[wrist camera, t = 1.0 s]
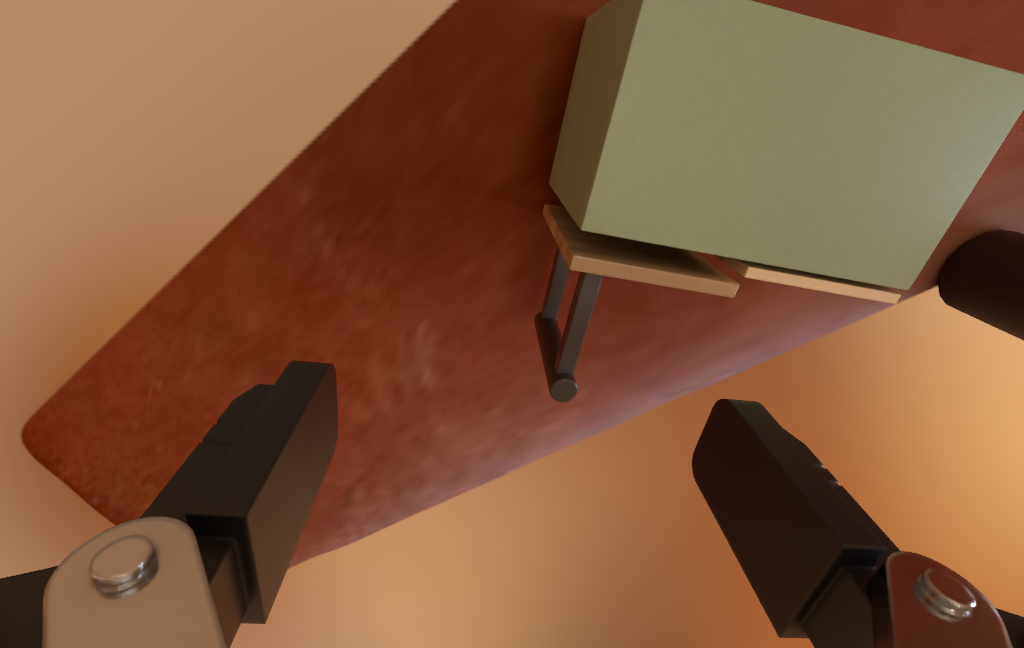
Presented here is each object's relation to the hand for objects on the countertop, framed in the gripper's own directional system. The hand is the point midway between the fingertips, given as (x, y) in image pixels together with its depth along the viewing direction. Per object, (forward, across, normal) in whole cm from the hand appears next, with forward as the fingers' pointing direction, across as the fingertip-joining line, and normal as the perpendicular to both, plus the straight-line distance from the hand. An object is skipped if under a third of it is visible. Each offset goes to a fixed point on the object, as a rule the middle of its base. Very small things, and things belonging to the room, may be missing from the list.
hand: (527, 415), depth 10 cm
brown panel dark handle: (+25, -8, +5) cm, 27 cm away
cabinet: (+25, -13, -5) cm, 29 cm away
